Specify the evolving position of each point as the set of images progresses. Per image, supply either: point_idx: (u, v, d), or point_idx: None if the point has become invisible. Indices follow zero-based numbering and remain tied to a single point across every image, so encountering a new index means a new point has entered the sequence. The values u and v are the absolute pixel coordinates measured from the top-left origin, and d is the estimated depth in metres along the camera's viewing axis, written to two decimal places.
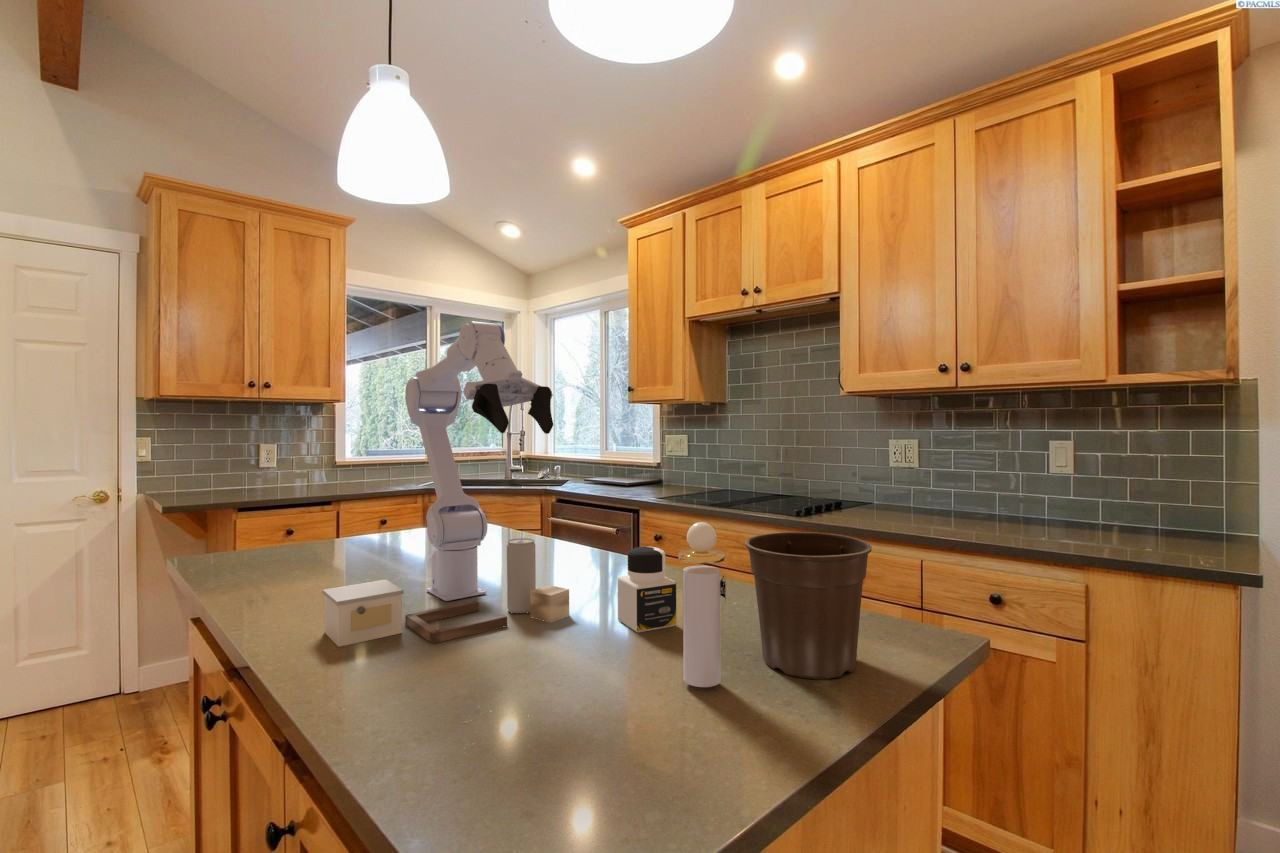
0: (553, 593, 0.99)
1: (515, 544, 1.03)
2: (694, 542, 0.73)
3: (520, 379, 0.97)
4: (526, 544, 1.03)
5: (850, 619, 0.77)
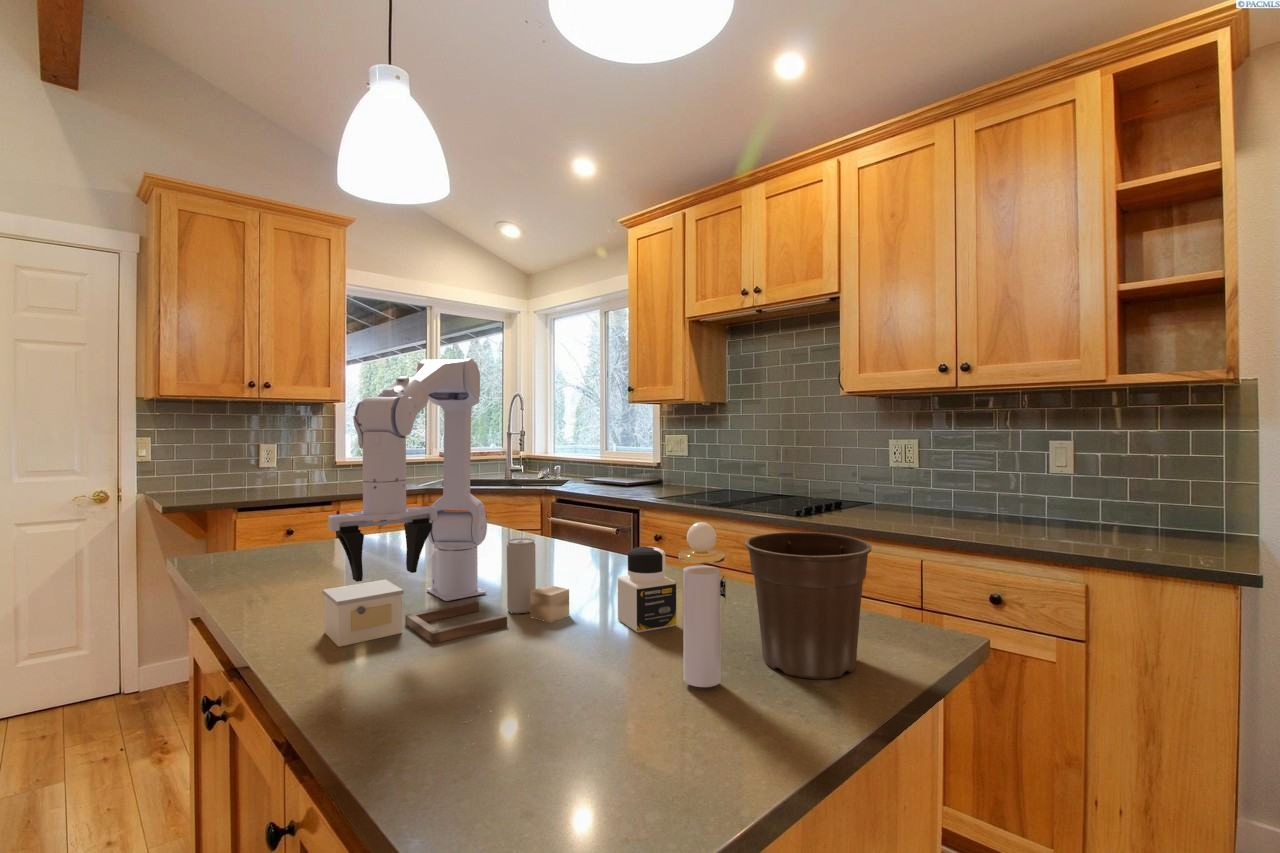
0: (553, 593, 0.99)
1: (515, 544, 1.03)
2: (694, 542, 0.73)
3: None
4: (526, 544, 1.03)
5: (850, 619, 0.77)
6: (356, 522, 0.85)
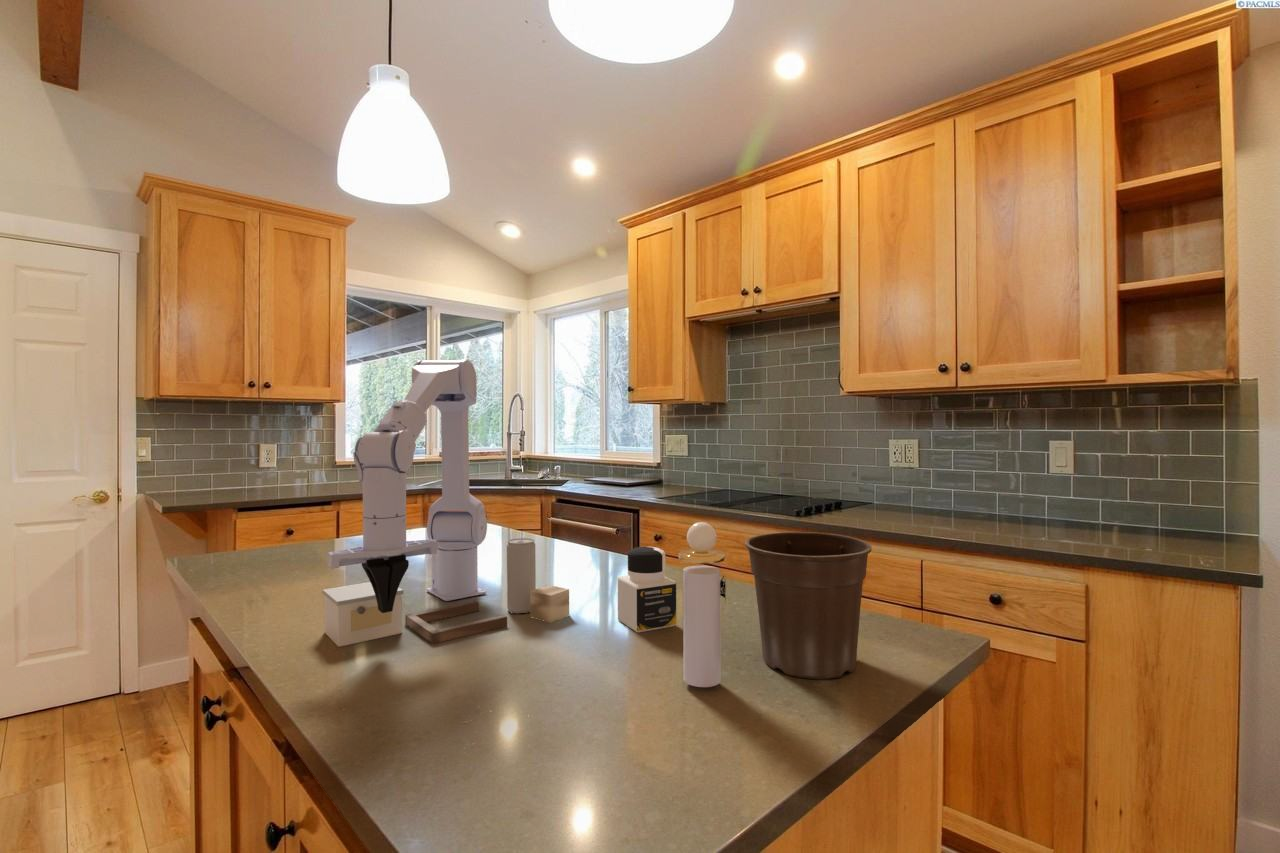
0: (553, 593, 0.99)
1: (515, 544, 1.03)
2: (694, 542, 0.73)
3: None
4: (526, 544, 1.03)
5: (850, 619, 0.77)
6: (356, 558, 0.85)
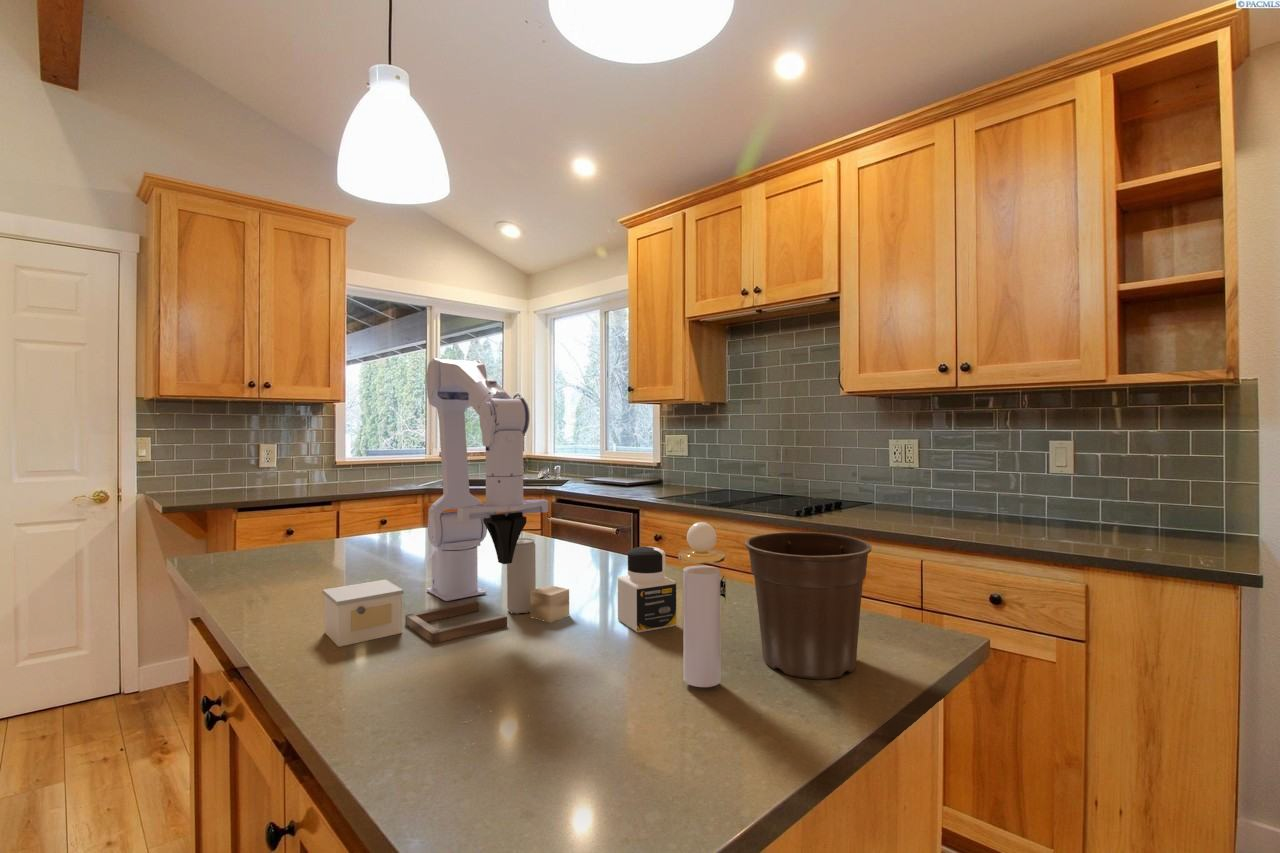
0: (553, 593, 0.99)
1: None
2: (694, 542, 0.73)
3: None
4: (526, 544, 1.03)
5: (850, 619, 0.77)
6: (482, 513, 0.93)
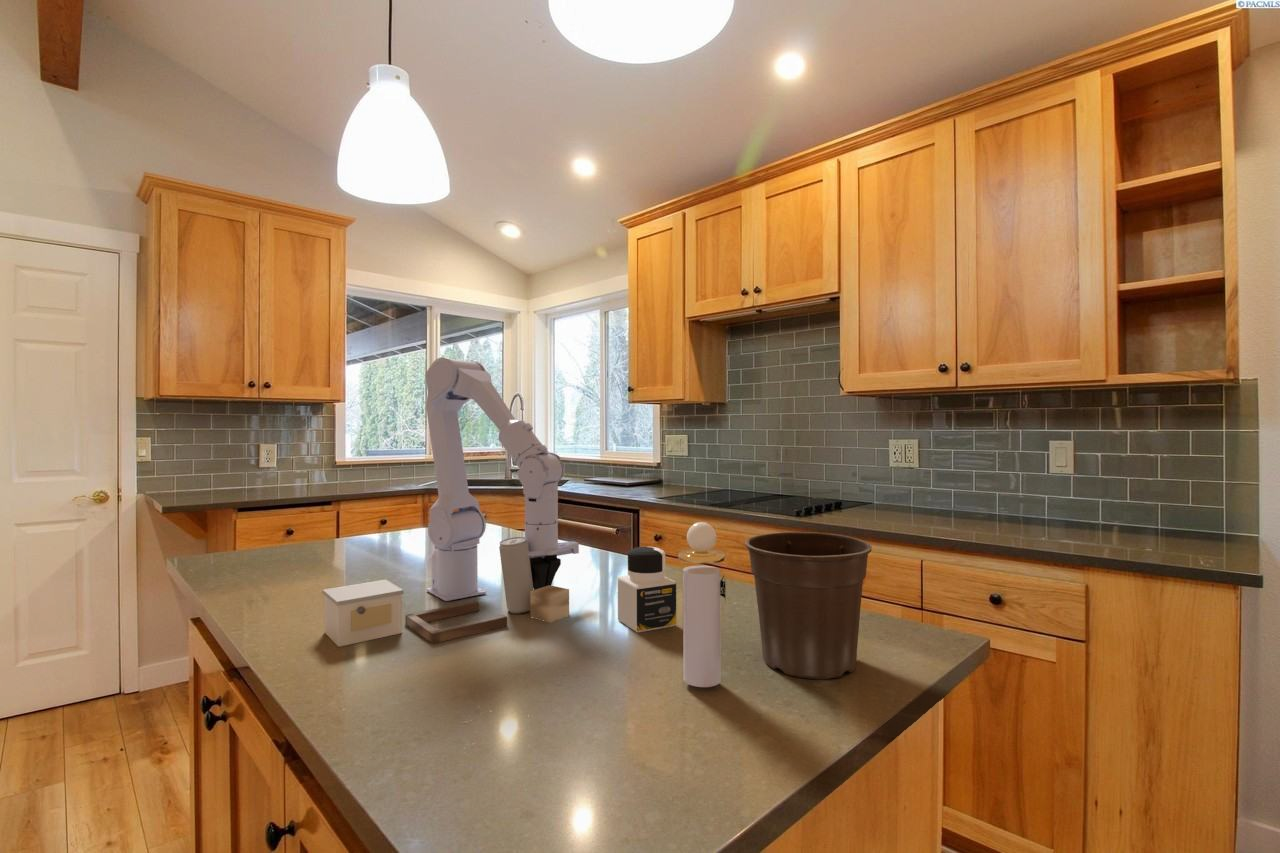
0: (553, 593, 0.99)
1: (507, 545, 1.02)
2: (694, 542, 0.73)
3: None
4: (518, 544, 1.02)
5: (850, 619, 0.77)
6: None
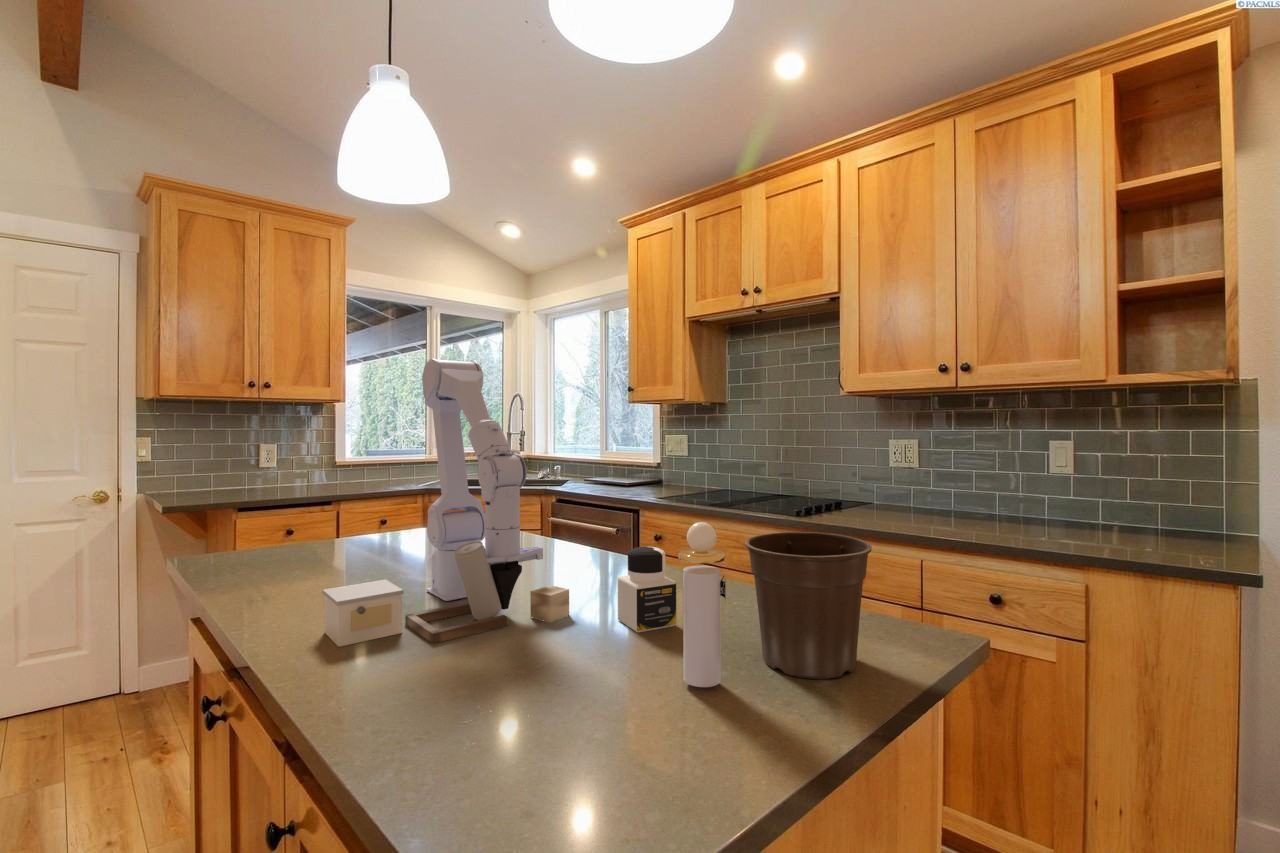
0: (553, 593, 0.99)
1: (462, 554, 0.96)
2: (694, 542, 0.73)
3: None
4: (473, 551, 0.97)
5: (850, 619, 0.77)
6: None
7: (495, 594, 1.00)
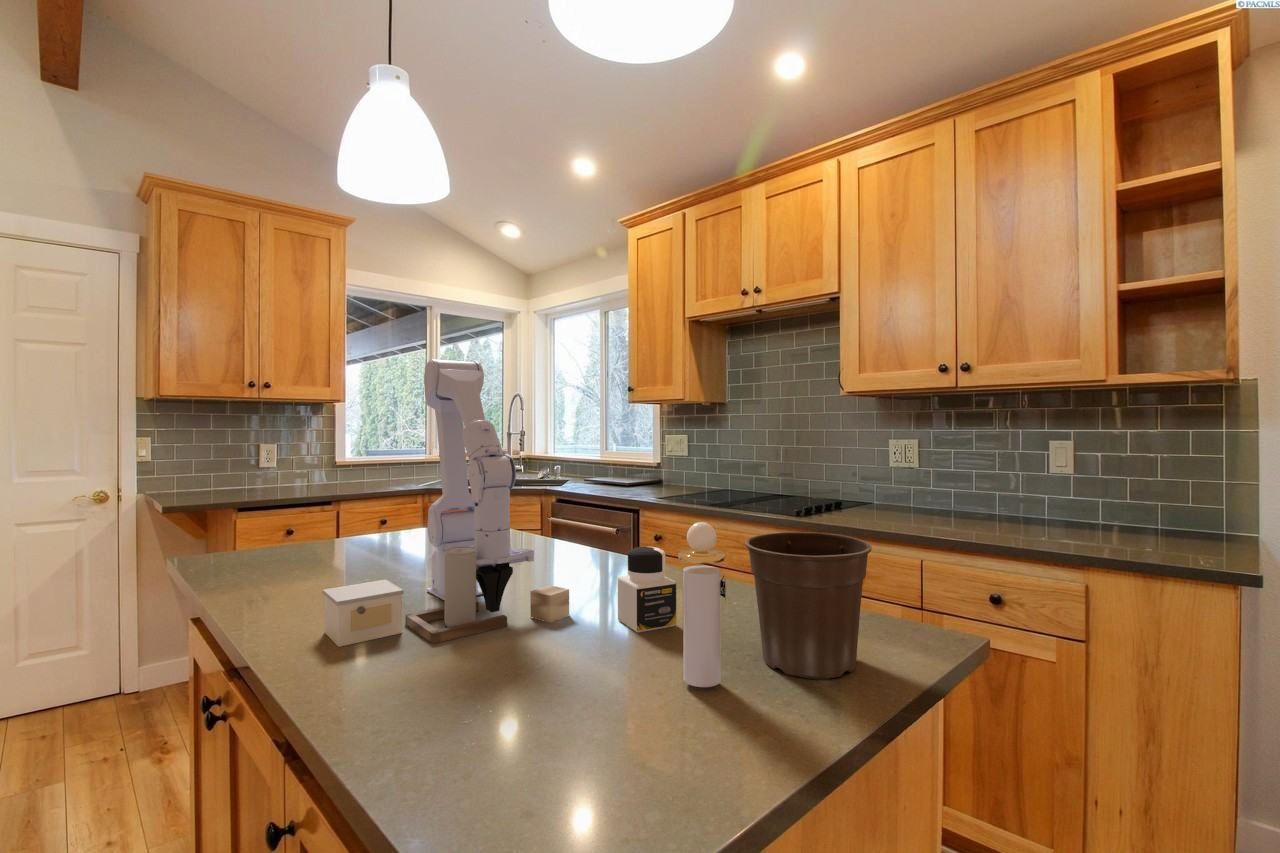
0: (553, 593, 0.99)
1: (454, 554, 0.95)
2: (694, 542, 0.73)
3: None
4: (466, 554, 0.95)
5: (850, 619, 0.77)
6: None
7: (474, 604, 0.97)
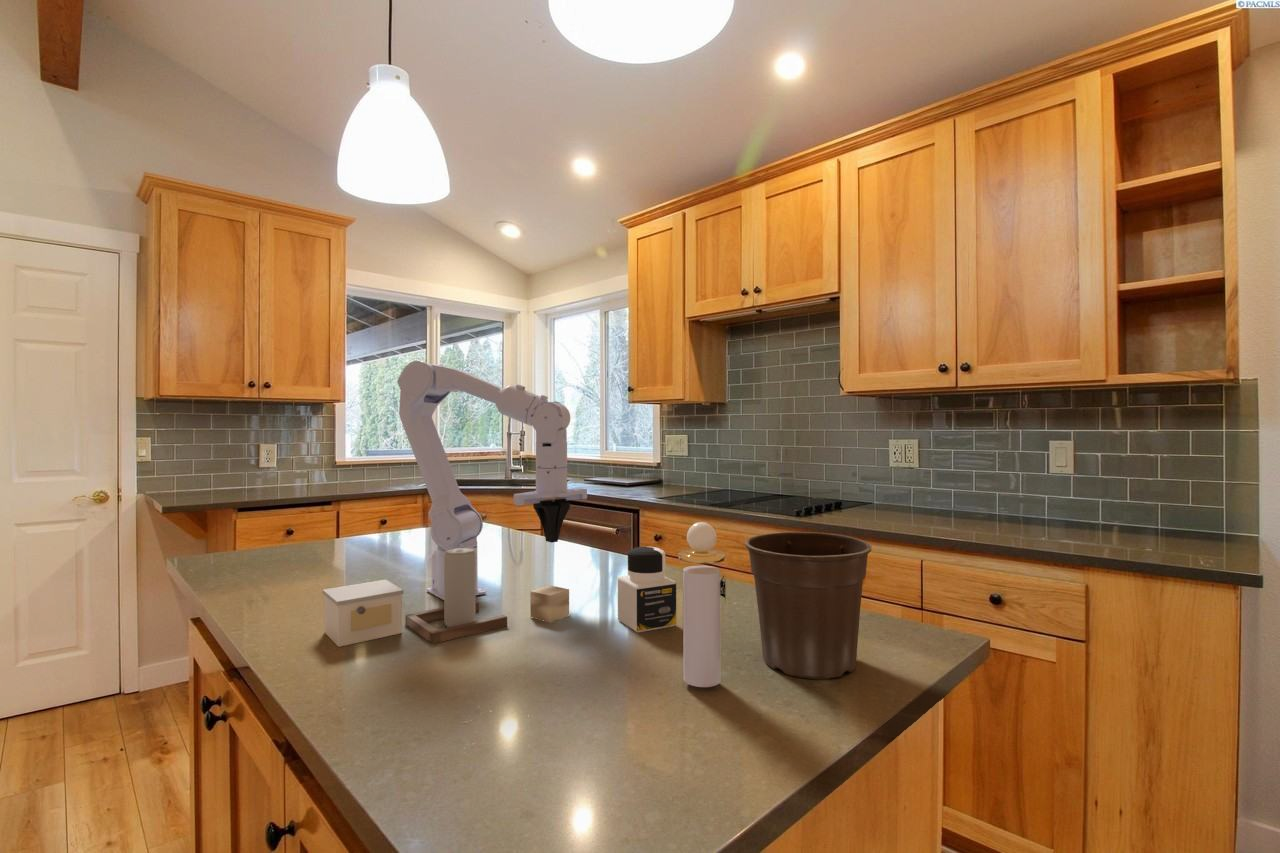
0: (553, 593, 0.99)
1: (454, 554, 0.95)
2: (694, 542, 0.73)
3: None
4: (466, 554, 0.96)
5: (850, 619, 0.77)
6: (533, 499, 1.10)
7: (474, 604, 0.97)
